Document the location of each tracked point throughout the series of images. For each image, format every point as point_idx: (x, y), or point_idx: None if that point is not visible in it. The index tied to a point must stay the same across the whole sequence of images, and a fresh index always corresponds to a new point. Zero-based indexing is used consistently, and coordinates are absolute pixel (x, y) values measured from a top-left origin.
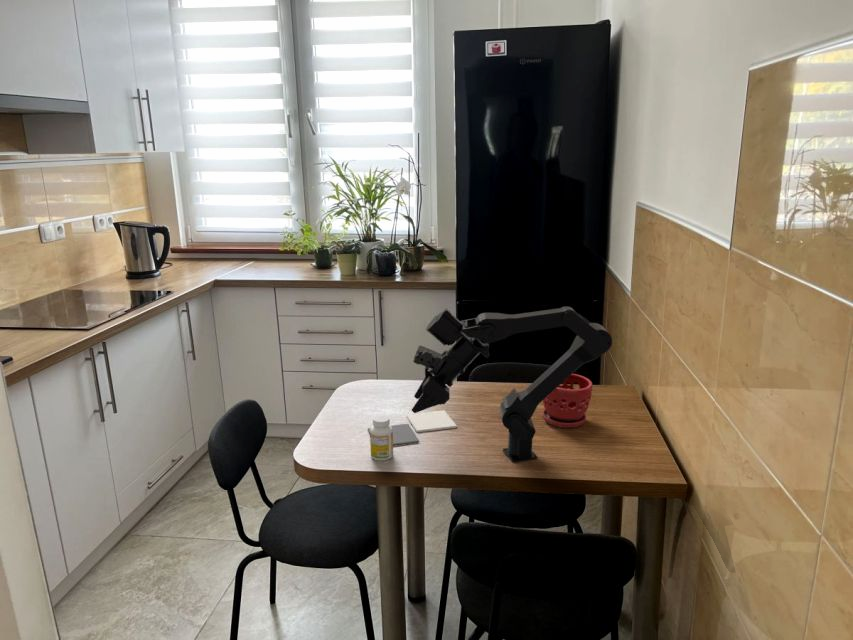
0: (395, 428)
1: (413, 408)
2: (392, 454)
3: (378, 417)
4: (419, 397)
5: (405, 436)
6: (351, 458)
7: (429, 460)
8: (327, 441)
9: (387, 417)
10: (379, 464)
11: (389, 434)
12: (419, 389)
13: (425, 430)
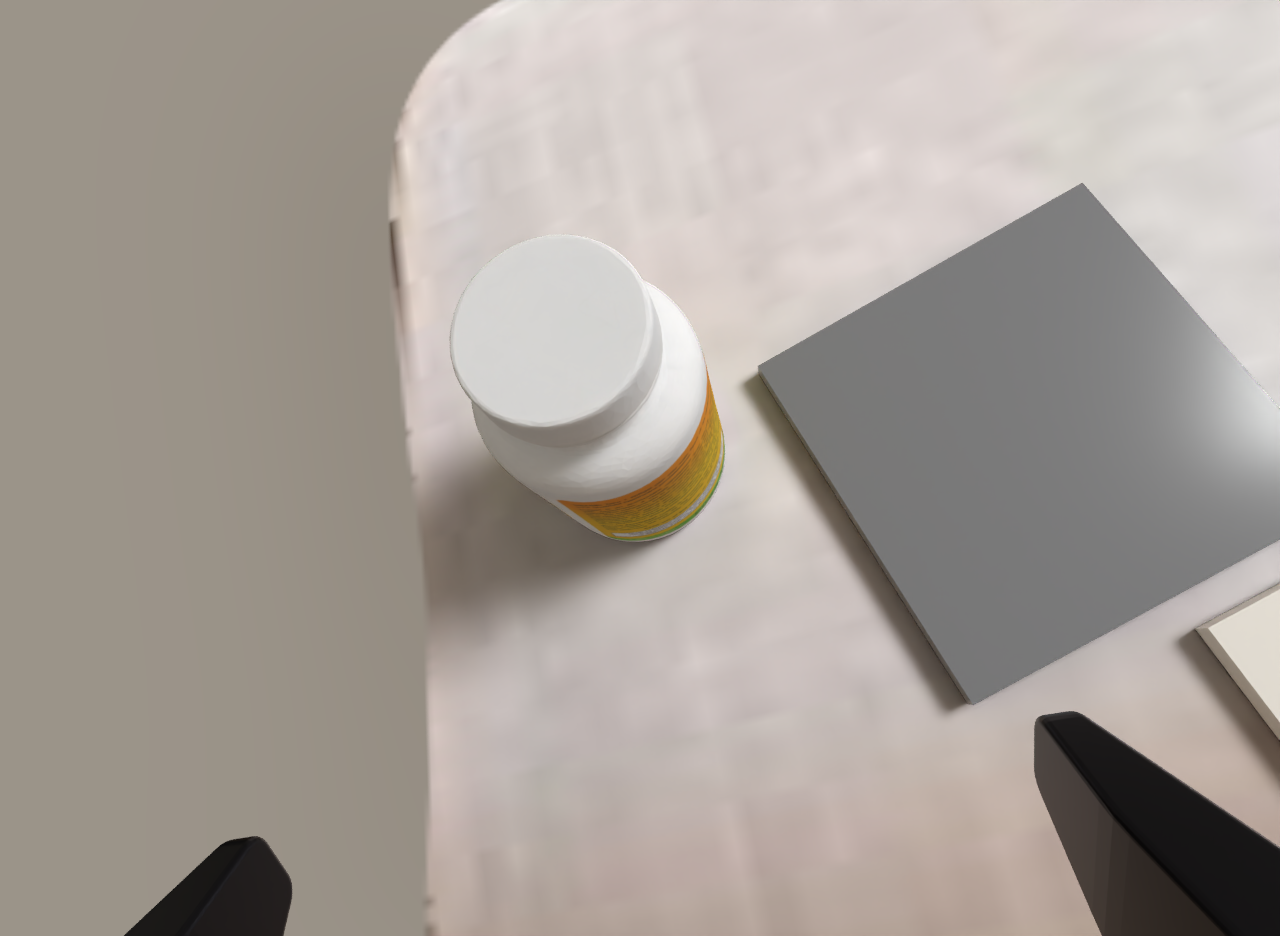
0: (1176, 410)
1: (177, 897)
2: (629, 540)
3: (575, 285)
4: (1067, 845)
5: (1024, 552)
6: None
7: (639, 873)
8: (783, 17)
9: (596, 389)
10: (506, 482)
11: (532, 488)
12: (1182, 908)
13: (1269, 715)
